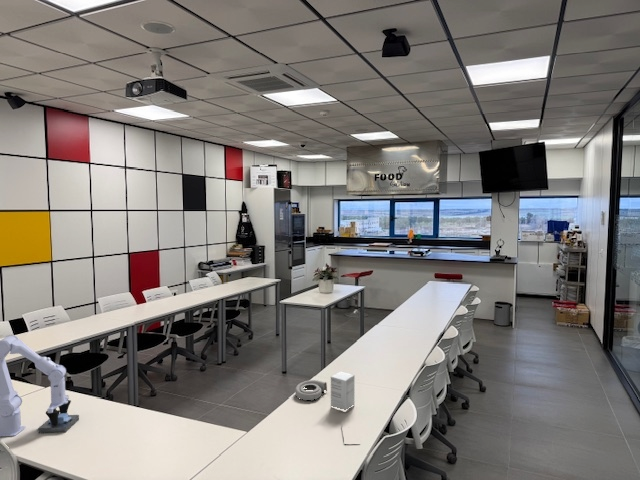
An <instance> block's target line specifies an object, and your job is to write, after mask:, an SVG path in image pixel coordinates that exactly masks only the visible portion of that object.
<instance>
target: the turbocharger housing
mask: <svg viewBox="0 0 640 480" xmlns="http://www.w3.org/2000/svg"><path fill="white" fill-rule="evenodd" d="M327 383H328V382H326V381H322V380H316V379H309V380H305V381H301V382H300V383H298V384H297V385H296V387H295V390H294V391H295V397H296V396H297V397H298V398H300V399H303V400H311V401H315V400H317V399H319V398H320V397H321V396H322V392H324V390H326V391H327V392H328V384H327ZM304 387H305V388H307V389H303V388H304ZM306 390H313V391H306ZM297 397H296V398H297ZM298 398H297V399H298ZM300 399H299V400H300ZM314 399H315V400H314ZM303 400H302V401H303Z"/></svg>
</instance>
